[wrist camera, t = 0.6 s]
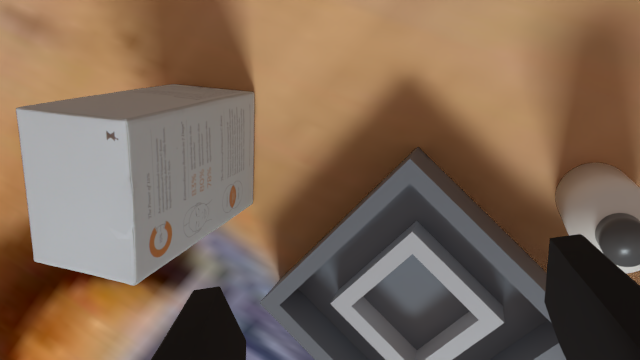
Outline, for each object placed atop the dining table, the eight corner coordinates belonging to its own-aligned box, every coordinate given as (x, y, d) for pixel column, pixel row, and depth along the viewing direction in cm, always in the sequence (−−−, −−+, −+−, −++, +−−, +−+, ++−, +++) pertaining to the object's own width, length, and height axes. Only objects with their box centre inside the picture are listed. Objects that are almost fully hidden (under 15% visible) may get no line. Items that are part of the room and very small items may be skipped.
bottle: (651, 199, 28) (705, 250, 21) (589, 243, 29) (621, 305, 22) (598, 148, 28) (634, 182, 21) (539, 195, 30) (556, 241, 23)
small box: (173, 82, 35) (11, 103, 23) (256, 90, 33) (128, 116, 21) (176, 193, 37) (30, 264, 25) (254, 206, 36) (137, 288, 24)
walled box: (583, 309, 30) (595, 341, 27) (418, 420, 36) (411, 457, 33) (417, 146, 31) (409, 158, 28) (279, 280, 36) (259, 302, 33)
